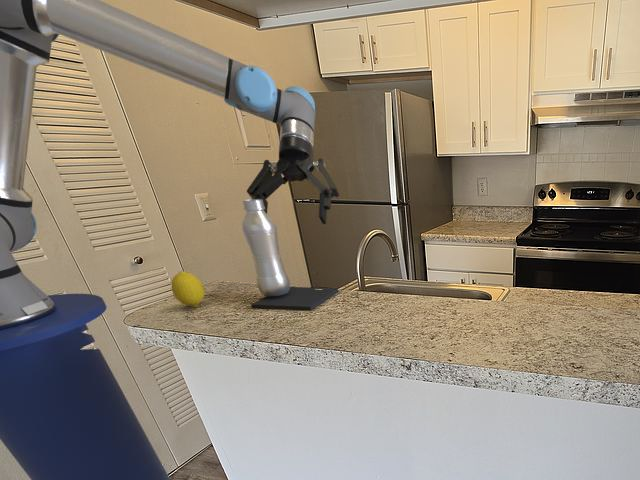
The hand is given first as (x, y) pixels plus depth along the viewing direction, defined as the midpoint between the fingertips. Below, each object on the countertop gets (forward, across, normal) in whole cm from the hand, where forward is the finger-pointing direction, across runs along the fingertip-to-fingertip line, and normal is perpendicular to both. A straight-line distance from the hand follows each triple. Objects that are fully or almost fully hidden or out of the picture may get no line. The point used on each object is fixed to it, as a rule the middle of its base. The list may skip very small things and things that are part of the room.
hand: (292, 221), depth 92 cm
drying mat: (+18, -1, -3) cm, 18 cm away
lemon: (+19, +21, -3) cm, 28 cm away
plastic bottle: (+17, +4, -4) cm, 17 cm away
